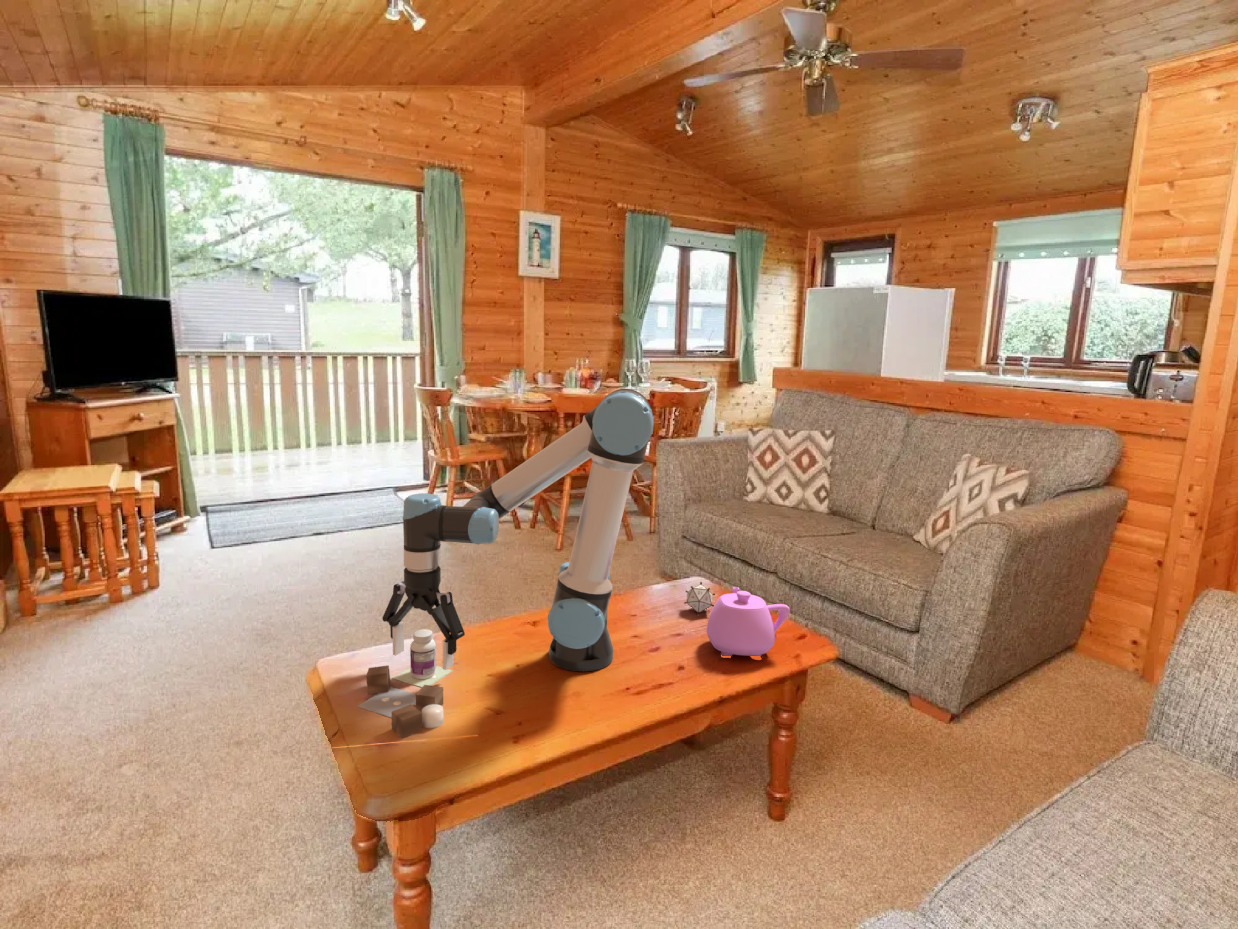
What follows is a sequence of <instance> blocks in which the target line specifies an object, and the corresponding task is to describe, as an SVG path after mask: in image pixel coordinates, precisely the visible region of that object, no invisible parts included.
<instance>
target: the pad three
mask: <svg viewBox="0 0 1238 929" xmlns="http://www.w3.org/2000/svg"><path fill="white" fill-rule="evenodd" d="M453 671H454V670H452V669H450V668H448V669H447V670H444V669H443V666H442V667H441V666H438V665H436V673H435V674H434V675H433V676H432V677H430V678H427V679H416V678H414V677H412V675H411V666H410V667H409V668H407V669H405V670H403V671H402V672H399V674H397V675H395V676H393V677H392V680H396V681H399V682H401V683H406V684H409V685H412V686H415V687H419V688H420V689H421V688H422V687H423V686H424V685H431V686H434V684H436V683H437V682H438V681H440V680H442V679H444V677H447V675H450V674H451V673H452V672H453Z"/></svg>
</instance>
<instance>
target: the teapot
mask: <svg viewBox="0 0 1238 929" xmlns="http://www.w3.org/2000/svg"><path fill="white" fill-rule="evenodd" d="M790 610H791V609H790V607H789V606H788V605H787V604H784V603H776V604H775V603H774V604H769V605H767V603H766V601H765V600H764V599H763V598H762V597H760V596H758V595H754V594H751V592H748V591H747V590H740V587H738V586H733V587H732V592H731V593H725V594H722V595H721V596H720V597H719V598H718V599H717V601H716V602H715V603H714V607H713V606H712V609H711V611H710V614H709V618H708V619H707V625H706V635H707V637H708V640H709V641H710V643H711V644H712V646H713V648H715V649H716V650H717V651H719V652H720V654H721V655H722V656H732V655H733V656H734V655H736V656H746V657H747V656H749V657H750V656H762V655H765V654H767V653H768V652H769V651H770V650H771V649H772V648H773V647H774V645H775V643H776V642H775V641H776V632H777V630H778V629H780V627H781V626H782V625H783V624H784V623H785V621H786V620H787V619H788V617H789V615H790ZM770 611H780V612H779V615H778V618H777V620H776V621H775V622H774V620H773V617H772V614H771V612H770ZM733 656H732V657H733Z"/></svg>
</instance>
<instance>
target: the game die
mask: <svg viewBox="0 0 1238 929" xmlns="http://www.w3.org/2000/svg"><path fill="white" fill-rule="evenodd" d="M710 590H711V588H710V587H708V588H707V587H705V586H704V585H703V582H702V581H700V583H699V584H698V585H696V586H693V585H691V586H690V589H689V591H688V590H685V593H687V594H686V595H687V596H686V601H684V602H683V604H684V605H685V604H687V605H688V606H689V608H690V607H692V608H691V609H693V610H694V611H695V612H696V613H698V612H700V613H702V612H704V611H706V610H707V608H708V609H710V607H712V608H713V607H714V606H715V604H713V598H714V597H713V596H716V593H712V592H711V591H710ZM705 609H706V610H705ZM703 610H704V611H703Z"/></svg>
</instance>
